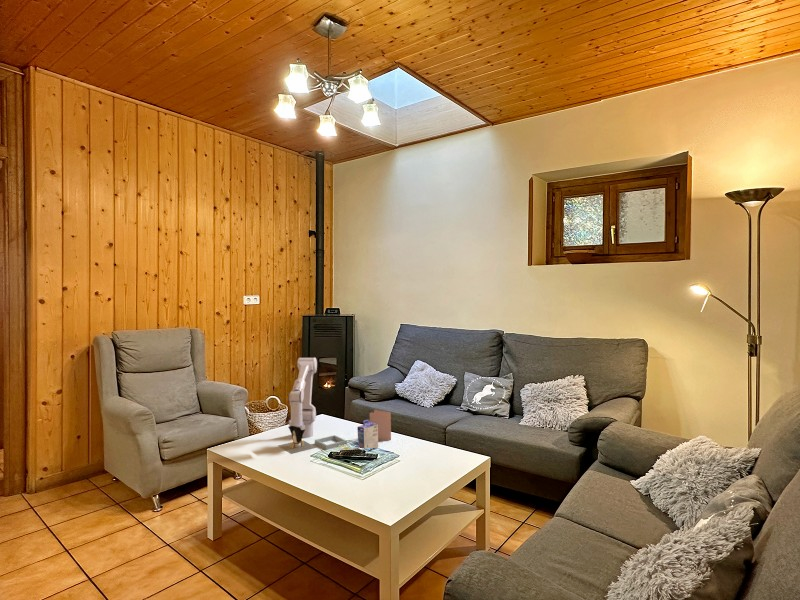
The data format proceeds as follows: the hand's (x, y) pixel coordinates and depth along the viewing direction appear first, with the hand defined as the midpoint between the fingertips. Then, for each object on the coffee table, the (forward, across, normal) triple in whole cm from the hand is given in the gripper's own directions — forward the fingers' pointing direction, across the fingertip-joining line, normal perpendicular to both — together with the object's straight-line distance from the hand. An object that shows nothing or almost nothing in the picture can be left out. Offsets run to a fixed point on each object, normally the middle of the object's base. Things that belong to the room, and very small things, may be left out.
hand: (297, 440), depth 232 cm
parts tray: (+4, +8, +15) cm, 18 cm away
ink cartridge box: (+5, +23, +28) cm, 37 cm away
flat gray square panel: (+4, 0, 0) cm, 4 cm away
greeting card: (+5, +15, +41) cm, 44 cm away
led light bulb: (+3, 0, 0) cm, 3 cm away
